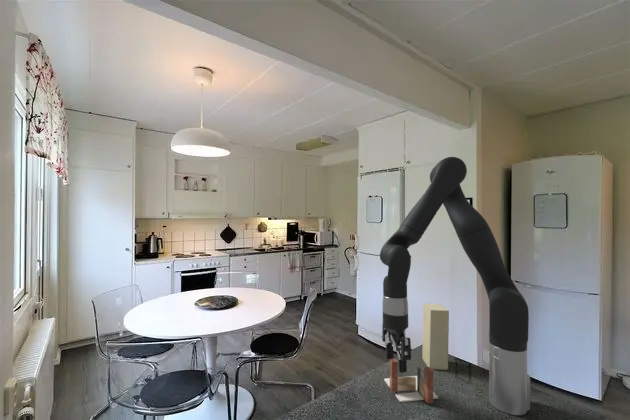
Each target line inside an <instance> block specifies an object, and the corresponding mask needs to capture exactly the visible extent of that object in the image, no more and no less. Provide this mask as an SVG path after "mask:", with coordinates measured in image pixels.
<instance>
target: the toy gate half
mask: <svg viewBox="0 0 630 420" xmlns="http://www.w3.org/2000/svg"><path fill="white" fill-rule="evenodd" d="M398 373H399V367H398V360H397V359H396V358H393V359H389V378H390V387H389V389H390V392H391V393H393V392H398V391H409V390H416V378H415V377H408V376H399V375H398Z"/></svg>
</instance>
